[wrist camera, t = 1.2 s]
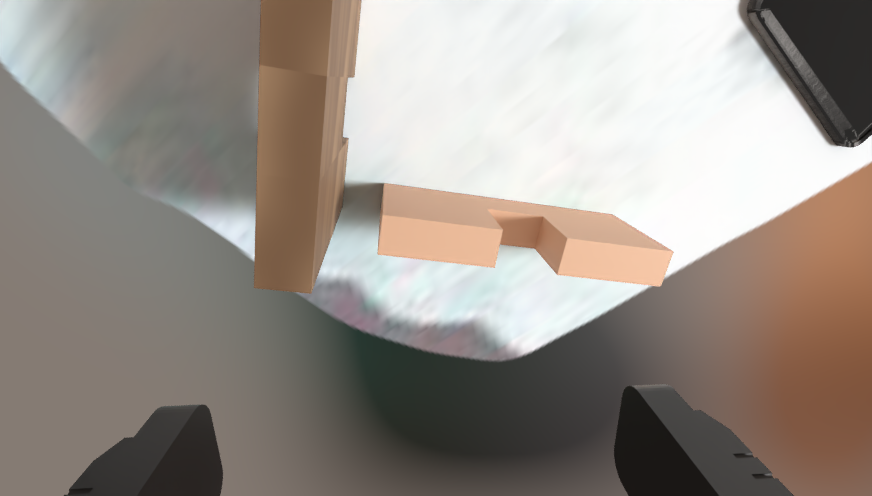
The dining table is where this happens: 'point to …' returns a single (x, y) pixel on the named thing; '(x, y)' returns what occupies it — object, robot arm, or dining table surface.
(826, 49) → the phone
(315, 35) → the upright wooden board
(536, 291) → the dining table surface
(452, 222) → the horizontal wooden crosspiece
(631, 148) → the dining table surface
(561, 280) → the dining table surface
